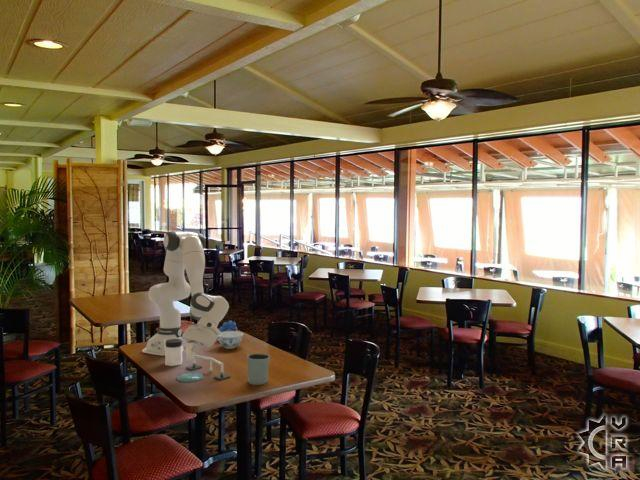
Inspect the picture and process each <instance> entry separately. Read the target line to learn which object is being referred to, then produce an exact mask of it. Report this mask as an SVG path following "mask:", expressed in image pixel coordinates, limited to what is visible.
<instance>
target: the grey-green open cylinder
mask: <svg viewBox="0 0 640 480" xmlns="http://www.w3.org/2000/svg"><path fill="white" fill-rule="evenodd" d="M246 359H247V372H248V375H247V378H248V379H247V381H248V384H250V385H253V386H255V385H256V386H258V385H259V386H261V385H264V384H266V383H267V382H268V375H269V374H268V373H269V365H270V364H269V363H270V355H269V354H266V353H258V352H257V353H250V354H248V355H247V356H246Z"/></svg>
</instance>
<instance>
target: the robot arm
mask: <svg viewBox="0 0 640 480" xmlns="http://www.w3.org/2000/svg"><path fill="white" fill-rule="evenodd" d="M162 243H163V248H164V249H165V250H166V253H165V258H164V264H163V273H164V274H165V276H168V279H169V280H168V282H162V283H158V284H155V285H153V286H151V287H149V290H148V299H149V301H150V302H151V303H153V304H154V305H155V306H156V308H157V310H158V312H159V326H158V327H157V328H155V330H156V331H157V332H156V333H155V334H154V335H152V337H150V338H149V339H148V340H147V343H146V347H144V348H143V349H142V351H141V353H145V354H149V355H156V356H165V347H166V345H165V343H166V340H169V339H181V340H182V339H183V340H184V341H185V342H188V341H194V342H195V347H193V348H192V349H191V351H192V352H195V353H196V352H197V351H198V350H199V349H200V348H202V347H206V348H210V347H212V346H213V345H214V343H215V342H216V341H217V340H218V338H217V337H218V335H220V333H221V332H220V330H219V328H218V326H219V323H220V322H221V321H222V320H223V319H224V317H225V316H226V314H227V313H228V311H229V308H230V305H229V302H228V300H227V299H226V298H225V297H223V296H221V295H215V296H214V295H210V294H206V293H204V292H205V290H204V286H203V285H204V283H203V280H204V273H205V269H206V256H205V251H204V249H205V246H206V237H205V236H204V234H202V233H200V232H195V231H186V230H185V231H174V230H173V231H171V230H170V231H167V232H166V233H165V234H164V236H163V241H162ZM185 273H186V275H187V279H188V281H189V282H187V280H186V277H185ZM190 296H191V299H190V302H189V303H190V304H189V305H190V306H189V315H190V317H191V318H192V319H193V320H195V321H198V322H196V323H194V324H192V325H190V326H188V328H186V329H185V331H183V333H182V324H181V318H182V317H181V312H180V310H179V309H177V308H175V306H174V302H178V301H183V300H185V299H187V298H189V297H190ZM184 350H185V351H186V345H185V346H183V345H182V353H183V352H184Z"/></svg>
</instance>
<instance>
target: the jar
mask: <svg viewBox="0 0 640 480" xmlns="http://www.w3.org/2000/svg"><path fill="white" fill-rule="evenodd" d="M165 345H166V347H165V355H164V362H165V363H164V364H165V366H170V367H175V366H180V365H182V363H183V352H182V346H183V340H182V338H181V339H169V340H166V343H165Z"/></svg>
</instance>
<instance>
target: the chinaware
mask: <svg viewBox="0 0 640 480" xmlns="http://www.w3.org/2000/svg"><path fill="white" fill-rule="evenodd" d="M243 337H244V332H241V331H238V330H237V331H225V332H221V333H220V335H218V337H217V340H218V342H219V343H220V345H222V346H223V348H224V349H228V350H229V349H235V348H236V347H237V346H238V345H239V344H240V343H241V342H242V339H243Z"/></svg>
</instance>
